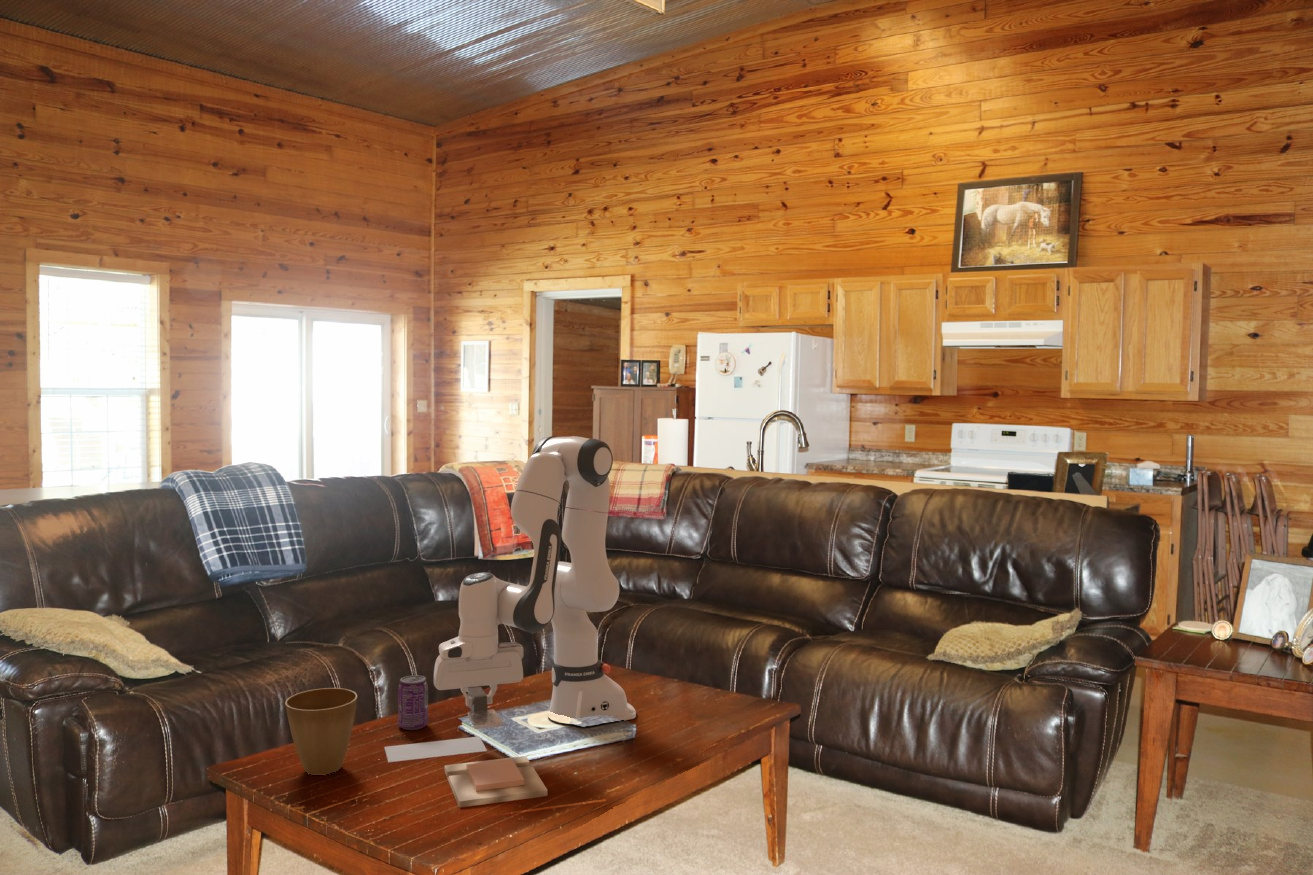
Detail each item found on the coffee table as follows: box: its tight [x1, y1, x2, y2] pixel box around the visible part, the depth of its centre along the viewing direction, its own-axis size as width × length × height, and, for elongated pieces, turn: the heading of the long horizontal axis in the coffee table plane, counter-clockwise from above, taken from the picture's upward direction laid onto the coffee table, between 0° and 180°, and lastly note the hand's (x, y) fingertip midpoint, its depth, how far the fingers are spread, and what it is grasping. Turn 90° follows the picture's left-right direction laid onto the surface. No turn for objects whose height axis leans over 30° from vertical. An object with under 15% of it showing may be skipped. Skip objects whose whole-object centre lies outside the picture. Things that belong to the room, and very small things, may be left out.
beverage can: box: [397, 674, 429, 731], centre depth 249 cm, size 7×7×12 cm
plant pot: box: [284, 687, 358, 775], centre depth 221 cm, size 15×15×16 cm
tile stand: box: [444, 755, 548, 808], centre depth 214 cm, size 18×20×2 cm
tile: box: [466, 759, 524, 791], centre depth 214 cm, size 10×1×12 cm
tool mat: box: [384, 736, 488, 765], centre depth 234 cm, size 22×10×1 cm, turn 110°
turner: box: [467, 686, 504, 730], centre depth 230 cm, size 18×6×4 cm, turn 20°
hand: (479, 704), depth 233 cm, fingers closed on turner, 3 cm apart
